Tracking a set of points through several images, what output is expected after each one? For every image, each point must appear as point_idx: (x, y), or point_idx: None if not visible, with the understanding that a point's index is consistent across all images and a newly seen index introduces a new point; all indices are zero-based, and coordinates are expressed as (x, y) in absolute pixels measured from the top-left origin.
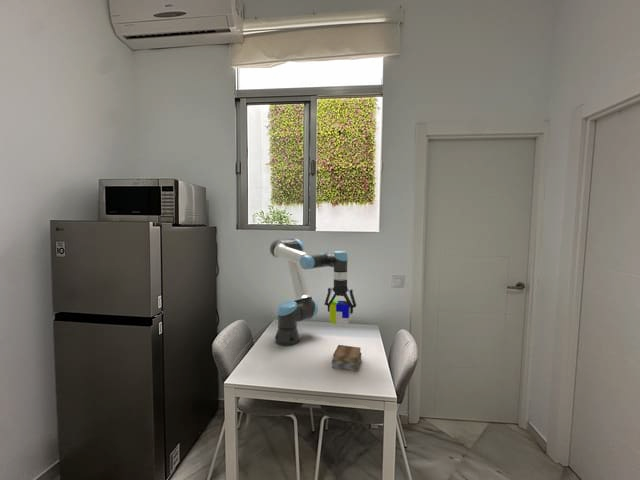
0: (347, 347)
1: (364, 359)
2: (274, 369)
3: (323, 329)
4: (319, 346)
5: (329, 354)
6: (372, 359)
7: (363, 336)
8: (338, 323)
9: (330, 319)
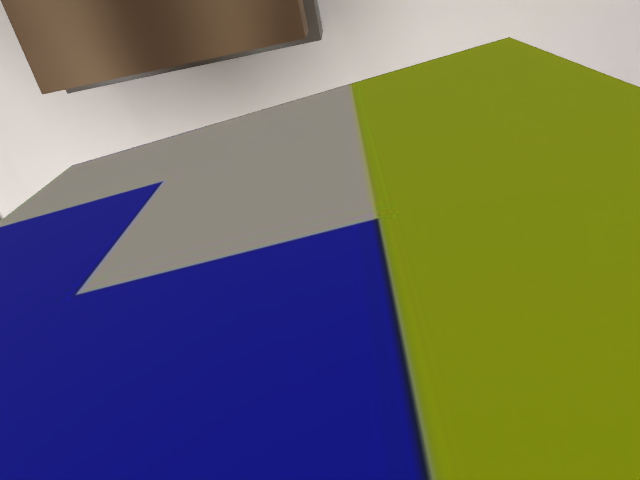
0: (169, 14)
1: (82, 102)
2: None
3: None
4: None
5: (417, 37)
6: (27, 136)
7: None
8: (288, 102)
9: (528, 54)
